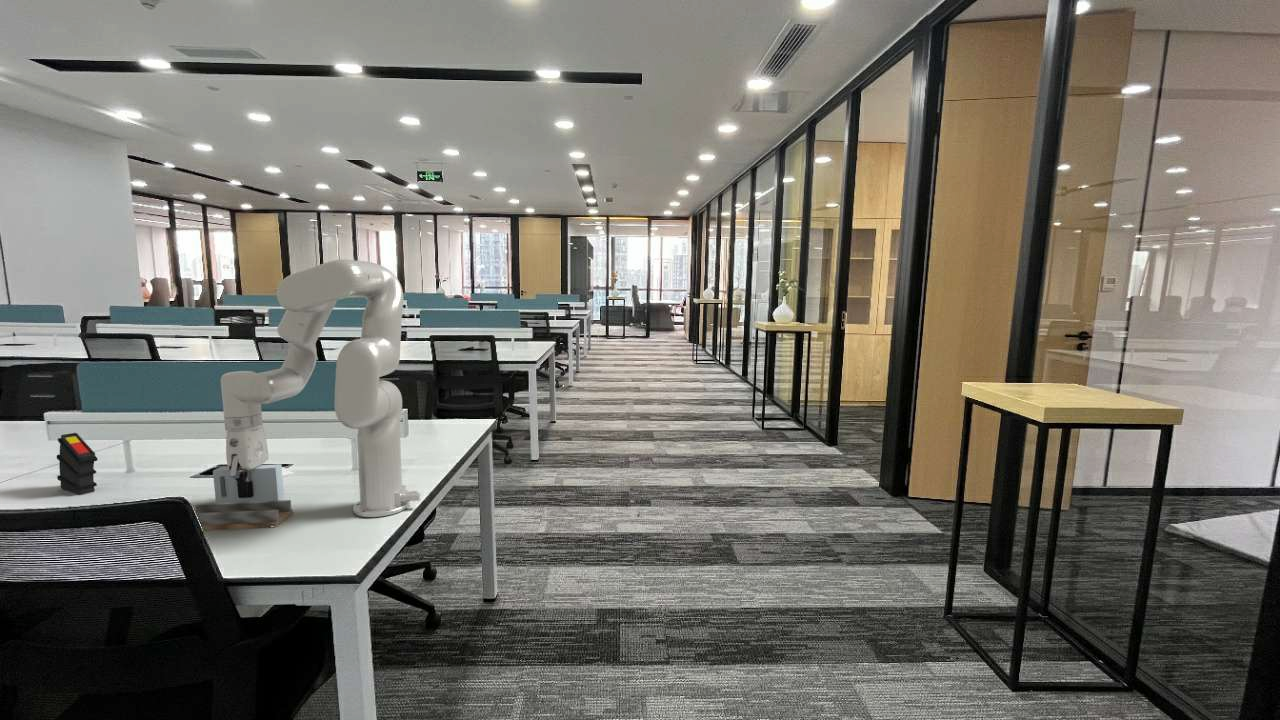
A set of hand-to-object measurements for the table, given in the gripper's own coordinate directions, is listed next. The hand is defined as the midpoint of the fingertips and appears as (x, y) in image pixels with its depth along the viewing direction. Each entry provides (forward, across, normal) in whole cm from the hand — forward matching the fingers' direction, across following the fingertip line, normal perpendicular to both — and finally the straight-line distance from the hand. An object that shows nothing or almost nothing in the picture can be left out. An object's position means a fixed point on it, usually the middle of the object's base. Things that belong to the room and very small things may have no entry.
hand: (250, 493), depth 138 cm
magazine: (+2, +16, +50) cm, 52 cm away
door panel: (+2, 0, 0) cm, 2 cm away
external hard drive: (+4, +22, +8) cm, 24 cm away
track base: (+3, -11, -2) cm, 12 cm away
